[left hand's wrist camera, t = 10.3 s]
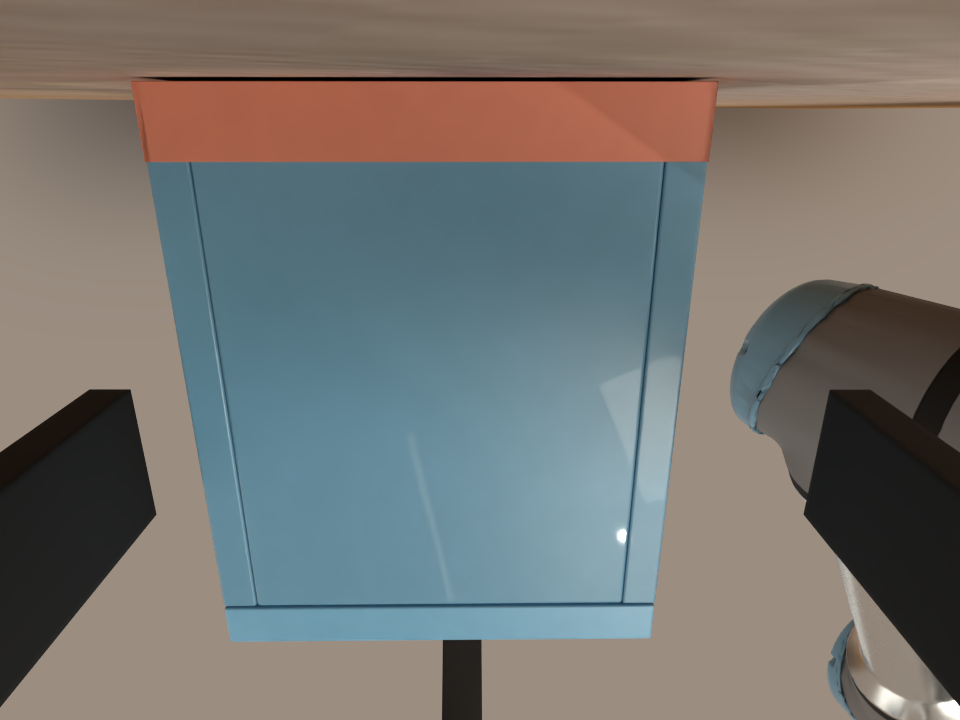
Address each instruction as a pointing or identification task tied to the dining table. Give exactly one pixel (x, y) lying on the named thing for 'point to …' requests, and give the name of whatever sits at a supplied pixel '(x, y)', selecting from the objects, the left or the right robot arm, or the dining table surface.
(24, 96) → the dining table surface
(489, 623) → the lid
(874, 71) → the dining table surface
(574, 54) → the dining table surface
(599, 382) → the chest
